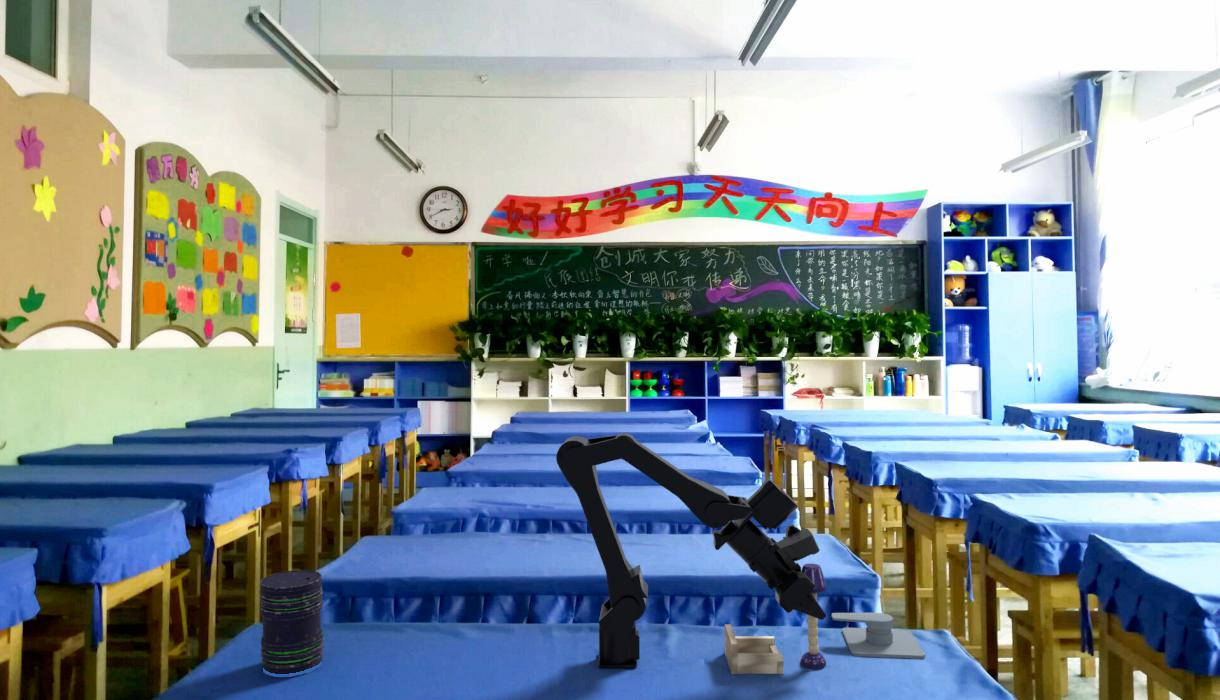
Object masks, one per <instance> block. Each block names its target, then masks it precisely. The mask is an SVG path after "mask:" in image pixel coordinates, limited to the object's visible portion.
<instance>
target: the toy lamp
mask: <svg viewBox="0 0 1220 700" xmlns="http://www.w3.org/2000/svg"><path fill="white" fill-rule="evenodd" d="M801 572H803V573H804V574H805V575H806V576H807V577H809V579H810V580H811V581H812V582H813V584H814V585H815V587H814V589H813V590H812V591H811V594H812V595H813V597H814V598H815V600H816V601H817V602H818V600H817V598H818V593H819V594H820V593H824V592H825V591H826V590H827V583H826V580H825V576H824V573H823V570H822V567H821V565H820V564H816V563H805V564H803V565H802V566H801ZM818 620H819V619H818V618H815V617H812V616H810V615H807V620H806V621H807V622H806V623H807V634H808V637H807V641H808V647H807V648H808V651H807V652H805V653H804V654H803V655H802V656H801V659H800V664H801V665H802V666H803V667H805V668H808V669H816V670H817V669H822V668H824V667H827V666H826V665H827V660H826V658H825V656H824V655H823V654H822V653H820V652H819V650H820V649H819V636H818V634H819V628H818V624H819V623H818V622H819V621H818Z"/></svg>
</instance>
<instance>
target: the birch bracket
mask: <svg viewBox="0 0 1220 700" xmlns="http://www.w3.org/2000/svg"><path fill="white" fill-rule="evenodd" d="M724 654H725V658H726V660H727V664H728V668H729V670H730V672H731V675H739V674H740V675H741V674H743V675H745V674H746V675H747V674H748V675H749V674H757V675H758V674H767V675H769V674H771V675H773V674H774V675H784V672H785V671H784V669H785V668H784V666H785V665H784V663H785V661H784V654H783V653H782V652H779V650H778V647H777V646H776V638H775V636H773V635H772V636H771V635H770V636H769V635H764V636H763V635H762V636H761V635H760V636H759V635H753V636H752V635H747V636H746V635H744V636H743V635H742V636H741V635H738V636H736V635H735V633H734V630H733V628H732V625H731V624H730V623H729V624H724Z"/></svg>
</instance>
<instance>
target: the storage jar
mask: <svg viewBox="0 0 1220 700" xmlns="http://www.w3.org/2000/svg"><path fill="white" fill-rule="evenodd" d="M322 577H323V575H322V574H321V573H320V572H319V571H315V570H307V569H301V570H298V569H297V570H287V571H281V572H277V573H273V574H270V575H267V576H265V577H264V578H262V579H261V580H260V596H259V602H260V603H259V605H260V615H261V617H262V636H261V638H260V639H261V641H260V645H261V646H260V647H261V648H260V655H261V662H262V666H263V668H264V669H265V670H266V671H268V672H270V673H275V674H289V673H296V672H300V671H304V670H306V669H309V668H312V667H314V666H316V665H318V664H319V663H320V662H321V661H322V658H323V654H324V653H323V652H324V651H323V649H324V632H323V629H322V616H321V613H322V611H321V610H322V609H323V604H324V602H323V595H324V594H323V585H322V580H323V579H322Z"/></svg>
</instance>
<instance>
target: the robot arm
mask: <svg viewBox="0 0 1220 700" xmlns="http://www.w3.org/2000/svg"><path fill="white" fill-rule="evenodd" d="M555 460H556V464H557V466H558V468H559V470H560V471H561V472H562V474H563V476H564V478H565V480H566V481H567V483H568V484H569V486H571V488H572V490H573V491H574V492H575V494H576V495H577V498H578V501H579V503H580V505H581V508H582V511H583V513H584V516H585V519H586V522H587V525H588V526H589V529H590V532H591V535H592V538H593V540H594V543H595V546H596V548H597V551H598V554H599V556H600V559H601V562H602V565H603V567H604V570H605V573H606V575H605V576H606V582H607V590H608V597H609V598H608V599H606V600H605V601H604V602H603V603H602V605H601V610H600V615H599V618H598V619H599V620H598V658H597V659H598V661H597V666H598V668H637V667H638V661H639V660H640V657H641V656H640V647H641V646H640V631H639V630H637V621H638V620H640V619H641V618H642V617H643V615H644V614H645V611H646V604H647V603H646V602H647V599H648V597H649V595H648V593H649V585H648V583H647V582H646V581H645V579H644V578H643V573H642V567H641V565H636V566H634V567H633V566H632V564H630V562H629V561H628V559H627V557H626V555H625V552H624V550H623V547H622V544H621V541H620V539H619V536H618V533H617V529H616V528H615V526H614V523H613V520H612V516H611V514H610V511H609V509H608V506H607V504H606V500H605V498H604V495H603V493H602V489H601V488H600V485H599V478H598V477H599V476H598V470H597V466H598V465H601V464H606V463H610V462H613V461H617V460H623V461H625V462H626V463H628V464H629V465H630V466H632V467H633V468H635V469H636V470H638V471H640V472H641V473H642V474H644V475H645V476H647V477H648V478H649V479H651V480H653V481H654V482H656V484H658V485H660V486H661V487H663V488H664V489H666V490H667V491H669V492H670V493H672V495H674V496H676V497H677V498H678V499H679V500H680V501H681V502H682V503H683V504H684V505H685V507H687V509H689V511H690V512H691V513H692V514H693V515H694V516H695V517H697V519H698V520H699V521H701V522H702V524H704V525H705V526H706V527H708V528H710V529H713V530H712V535H713V541H712V542H713V546H714V549H715V550H716V551H719V550H720V549H722V547H723V546H724V545H725V544H727V546H728V547H729V548H730V549H732V551H734V553H736V555H737V556H739V557H740V558H741V559H742V560H743V562H745V563H746V564H747V566H748V568H749V569H750V570H751V571H752V572H753V573H756V574H757V575H758V576H759V577H760V578H761V579H762V580H763V582H764V583H765V584H766V586H767V587H768V588H769V589H770V590H775V600H776V602H777V603H778V605H779V606H780V607H781V608H782V609H783V610H784V611H785V612H786V613H787V614H789V613H791V612H792V611H793V610H794V611H796V612H800V613H802V614H805V615H807V616H808V615H810V616H812V617H815V618H817V620H820V621H822V620H824V619H825V618H826V617H827V615H826V613H825V612H824V610H823V608H822V606H821V605H820V604H819V602H818V600H817V599H816V600H817V601H816V600H815V598H814V597H813V595H812V594H811V591H812V590H813V589H814V587H815V585H814V584H813V582H812V581H811V580H810V579H809V577H807V576H806V575H805V574H804V573H803V572H801V571H802V566H801V565H800V564H799V562H797V561H800V560H803V559H804V558H807V557H809V556H811V555H816V554H818V553H819V552H820V548H819V545H818V543H817V542H816V539H815V537H814V535H813V532H811V531H810V529H809V528H805V527H802V528H801V529H800V528H799V527H798V526H796V525H795V524H791V525H788V526H786V527H785V536H783V537H782V539H780V540H779V541H776V539H774V538H773V537H770V536H768V535H766V533H765V532H764V531H762V530H761V529H760V527H758V525H756V524H755V523H754V521H753V520H752V518H753V519H754V520H755V521H756V522H757V523H758V524H759V526H761V527H762V529H764V530H770V531H771V530H772V529H773V530H776V529H778V527H780V526H781V525H782V524H783V523H784V522H785V521H786V520H787V519H788V518H789V517H790V516H791V515H793V513H794V512H795V511H796V510H797V509H798V508H799V505H798V504H797V503H796V502H795V500H793V498H792V497H791V496H790V495H789V494H787V492H785V491H784V489H783V488H780V487H779V486H778V485H777V484H775V482H773V481H772V480H771V479H770V478H766V479H765V480H764V481H763V482H762V484H761V486H760V487H759V488H758V489H757V490H756V491H755V492H753V494H752V495H751V496H750V497H749V498H747V497H745V496H744V497H742V496H737V495H730V494H727V493H726V492H725V491H724V490H722V489H721V488H718V487H716V486H714V485H713V484H710V483H708V482H706V481H703V480H700V479H698V478H694V477H692V476H691V475H688V474H686V473H685V472H684V471H682V470H680V469H679V468H678V467H677V466H675V465H674V464H672V463H670V462H669V461H667V460H666V459H664V458H663V457H662V456H660V455H659V454H657V453H656V452H655V451H653V450H651V449H650V448H648V447H647V446H646V445H644V444H643V443H641V442H640V441H639V440H637V439H636V438H635V437H634V436H633V435H632V434H630V433H628V432H622V433H618V434H615V435H607V436H599V437H591V438H586V437H583V436H580V435H579V436H578V435H575V436H574V435H573V436H569V437H568V438H567V439H566V440H565V441H564V442H563V443H562V444H561V445H560V446H559V448H558V450H557V451H556V458H555ZM718 528H721V529H719V530H716V529H718Z"/></svg>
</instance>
